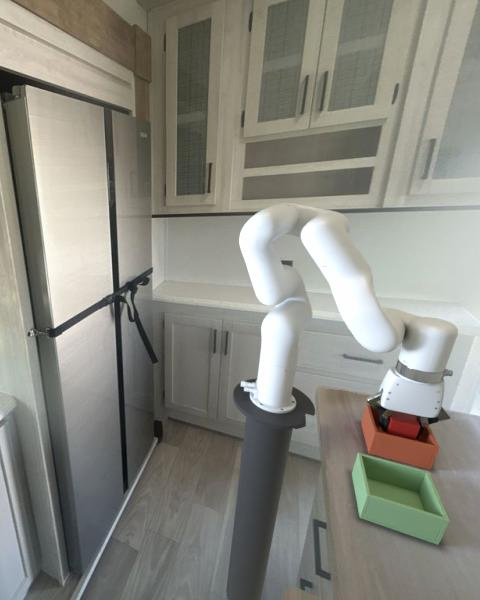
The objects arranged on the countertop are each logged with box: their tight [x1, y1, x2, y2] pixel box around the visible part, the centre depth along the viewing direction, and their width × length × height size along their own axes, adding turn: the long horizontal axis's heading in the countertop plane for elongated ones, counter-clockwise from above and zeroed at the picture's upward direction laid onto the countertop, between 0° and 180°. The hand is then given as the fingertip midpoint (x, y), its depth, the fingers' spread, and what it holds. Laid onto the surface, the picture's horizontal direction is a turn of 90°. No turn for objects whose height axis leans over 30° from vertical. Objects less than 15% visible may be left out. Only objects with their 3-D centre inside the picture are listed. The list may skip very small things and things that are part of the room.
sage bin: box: [351, 452, 451, 546], centre depth 69 cm, size 12×12×7 cm
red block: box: [386, 411, 420, 441], centre depth 81 cm, size 5×5×5 cm
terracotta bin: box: [360, 403, 440, 471], centre depth 82 cm, size 11×11×7 cm
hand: (398, 431), depth 82 cm, fingers closed on red block, 5 cm apart
